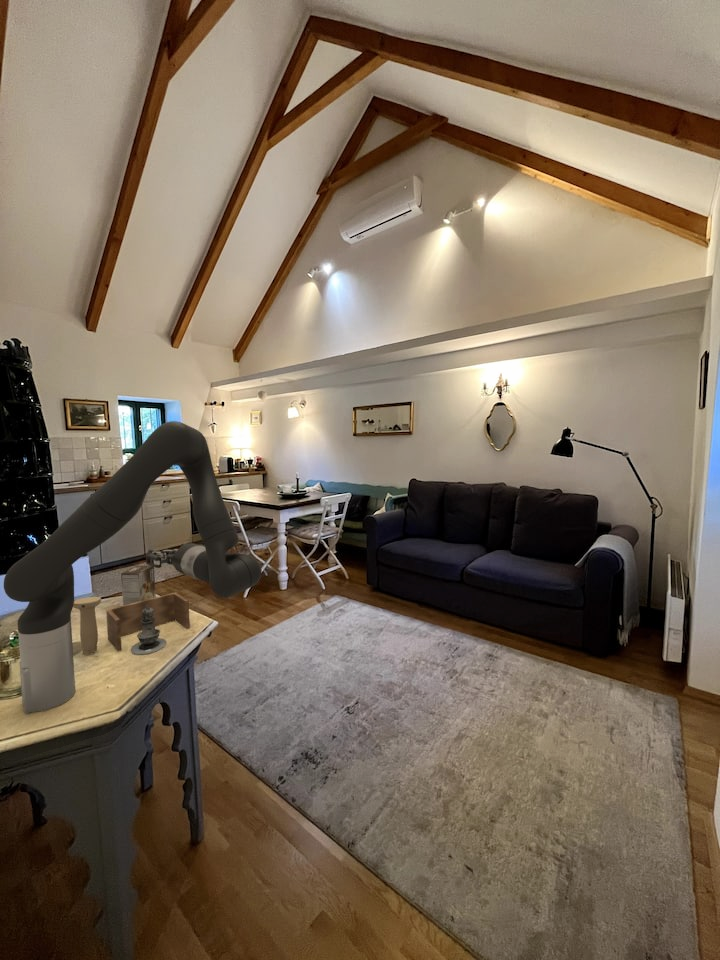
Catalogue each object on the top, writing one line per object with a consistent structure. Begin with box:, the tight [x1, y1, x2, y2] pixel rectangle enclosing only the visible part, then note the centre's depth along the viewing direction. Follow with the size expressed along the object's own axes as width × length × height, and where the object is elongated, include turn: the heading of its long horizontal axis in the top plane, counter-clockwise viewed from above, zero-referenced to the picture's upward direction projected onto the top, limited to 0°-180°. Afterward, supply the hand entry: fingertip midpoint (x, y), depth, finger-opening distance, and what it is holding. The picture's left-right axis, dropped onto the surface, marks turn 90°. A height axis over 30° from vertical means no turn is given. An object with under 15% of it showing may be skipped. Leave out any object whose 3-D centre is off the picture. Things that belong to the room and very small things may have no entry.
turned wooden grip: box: [73, 596, 102, 656], centre depth 108 cm, size 5×6×15 cm
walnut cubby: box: [105, 591, 191, 652], centre depth 120 cm, size 20×10×9 cm, turn 135°
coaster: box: [130, 637, 167, 656], centre depth 112 cm, size 9×9×1 cm
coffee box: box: [120, 565, 157, 606], centre depth 134 cm, size 9×6×16 cm
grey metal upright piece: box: [136, 605, 161, 650], centre depth 111 cm, size 6×6×12 cm
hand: (166, 550), depth 104 cm, fingers open, 8 cm apart
